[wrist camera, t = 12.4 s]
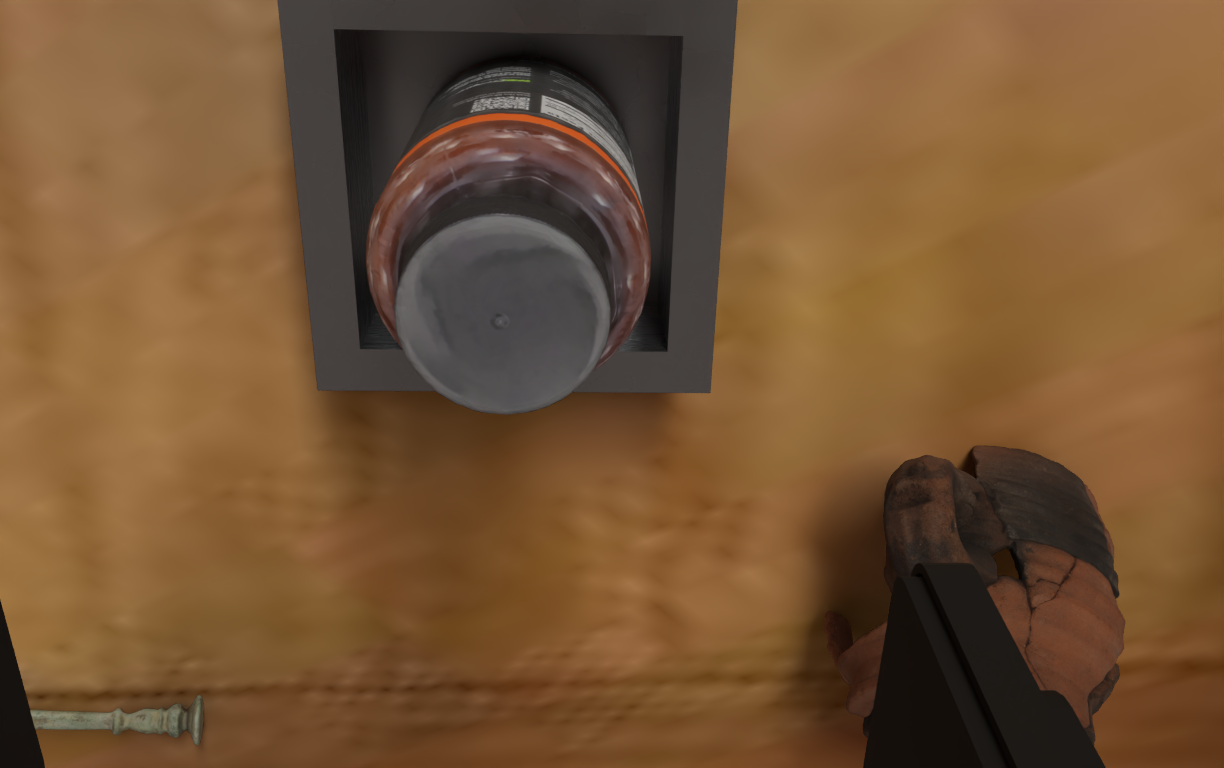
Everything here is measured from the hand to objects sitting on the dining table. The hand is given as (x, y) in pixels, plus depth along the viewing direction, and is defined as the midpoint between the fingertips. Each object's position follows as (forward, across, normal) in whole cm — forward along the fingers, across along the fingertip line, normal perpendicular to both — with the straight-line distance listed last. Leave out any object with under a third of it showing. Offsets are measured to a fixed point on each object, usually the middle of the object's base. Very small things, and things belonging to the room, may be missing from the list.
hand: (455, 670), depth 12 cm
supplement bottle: (+21, 0, 0) cm, 21 cm away
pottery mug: (+22, -14, +13) cm, 29 cm away
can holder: (+22, 0, 0) cm, 22 cm away
